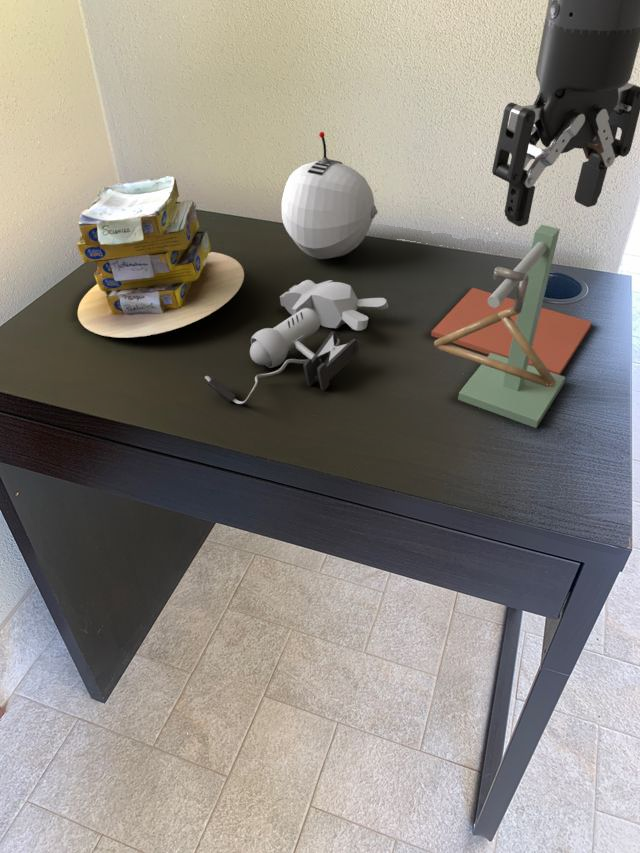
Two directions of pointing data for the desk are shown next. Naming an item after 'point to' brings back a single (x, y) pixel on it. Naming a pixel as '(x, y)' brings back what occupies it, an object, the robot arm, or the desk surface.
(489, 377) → the hook stand
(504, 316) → the hanger
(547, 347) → the mat
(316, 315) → the clip-on lamp
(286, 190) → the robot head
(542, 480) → the desk surface
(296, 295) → the bunny figurine
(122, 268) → the stacked boxes on plate
